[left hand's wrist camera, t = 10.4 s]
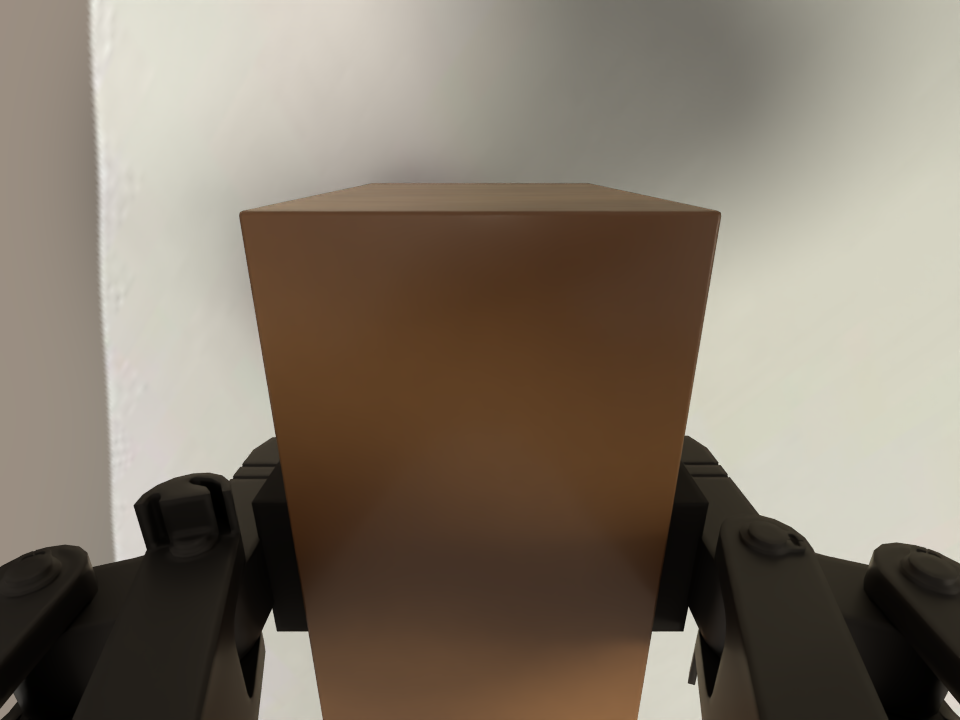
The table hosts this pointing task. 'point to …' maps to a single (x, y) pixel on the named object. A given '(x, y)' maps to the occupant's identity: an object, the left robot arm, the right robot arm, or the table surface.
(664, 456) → the bar
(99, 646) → the left robot arm
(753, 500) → the table surface
